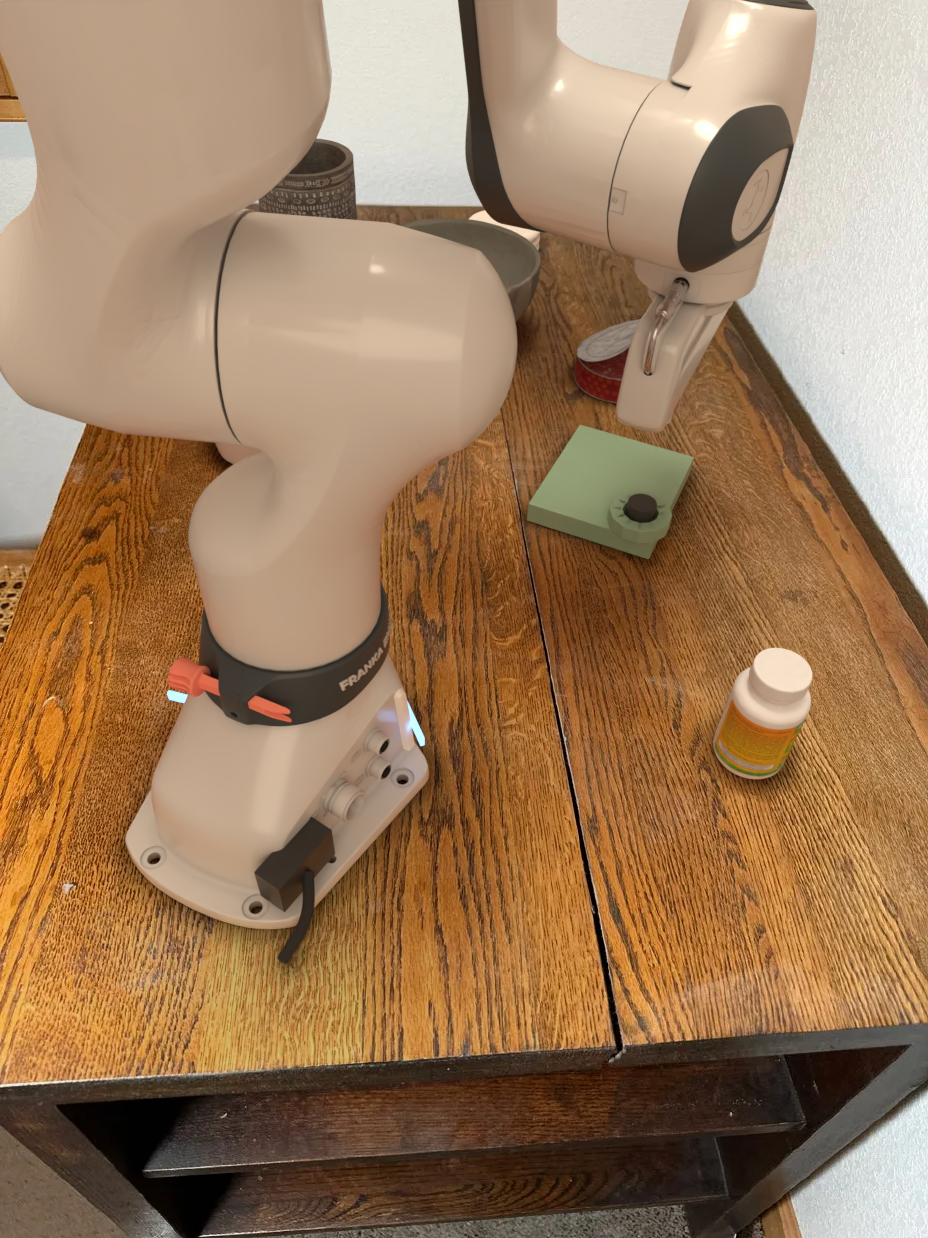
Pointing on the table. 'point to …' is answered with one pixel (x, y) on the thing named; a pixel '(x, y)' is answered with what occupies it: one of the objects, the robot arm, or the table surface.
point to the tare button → (641, 508)
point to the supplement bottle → (764, 714)
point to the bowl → (493, 253)
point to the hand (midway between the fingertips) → (663, 413)
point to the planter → (317, 185)
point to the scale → (610, 490)
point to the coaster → (528, 234)
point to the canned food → (604, 361)
